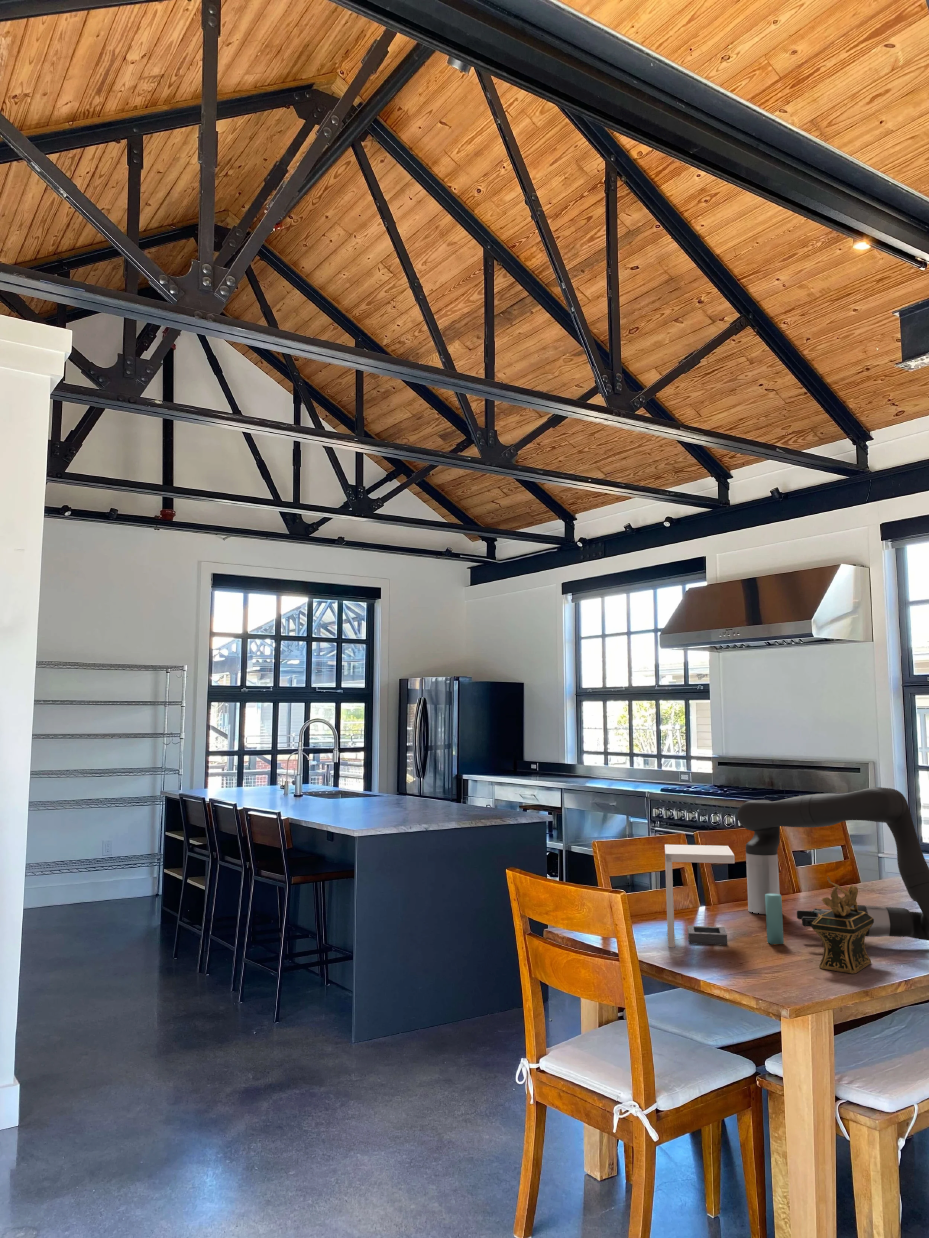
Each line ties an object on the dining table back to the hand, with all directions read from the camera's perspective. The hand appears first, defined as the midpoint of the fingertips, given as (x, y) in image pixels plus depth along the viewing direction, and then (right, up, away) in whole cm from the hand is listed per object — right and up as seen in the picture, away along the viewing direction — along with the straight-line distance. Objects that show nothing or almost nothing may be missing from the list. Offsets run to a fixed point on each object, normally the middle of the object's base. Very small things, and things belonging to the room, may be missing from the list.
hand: (799, 918), depth 226 cm
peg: (-6, -7, 0) cm, 9 cm away
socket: (-23, -7, +4) cm, 24 cm away
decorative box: (+1, -4, -23) cm, 24 cm away
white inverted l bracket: (-24, -7, +4) cm, 26 cm away
